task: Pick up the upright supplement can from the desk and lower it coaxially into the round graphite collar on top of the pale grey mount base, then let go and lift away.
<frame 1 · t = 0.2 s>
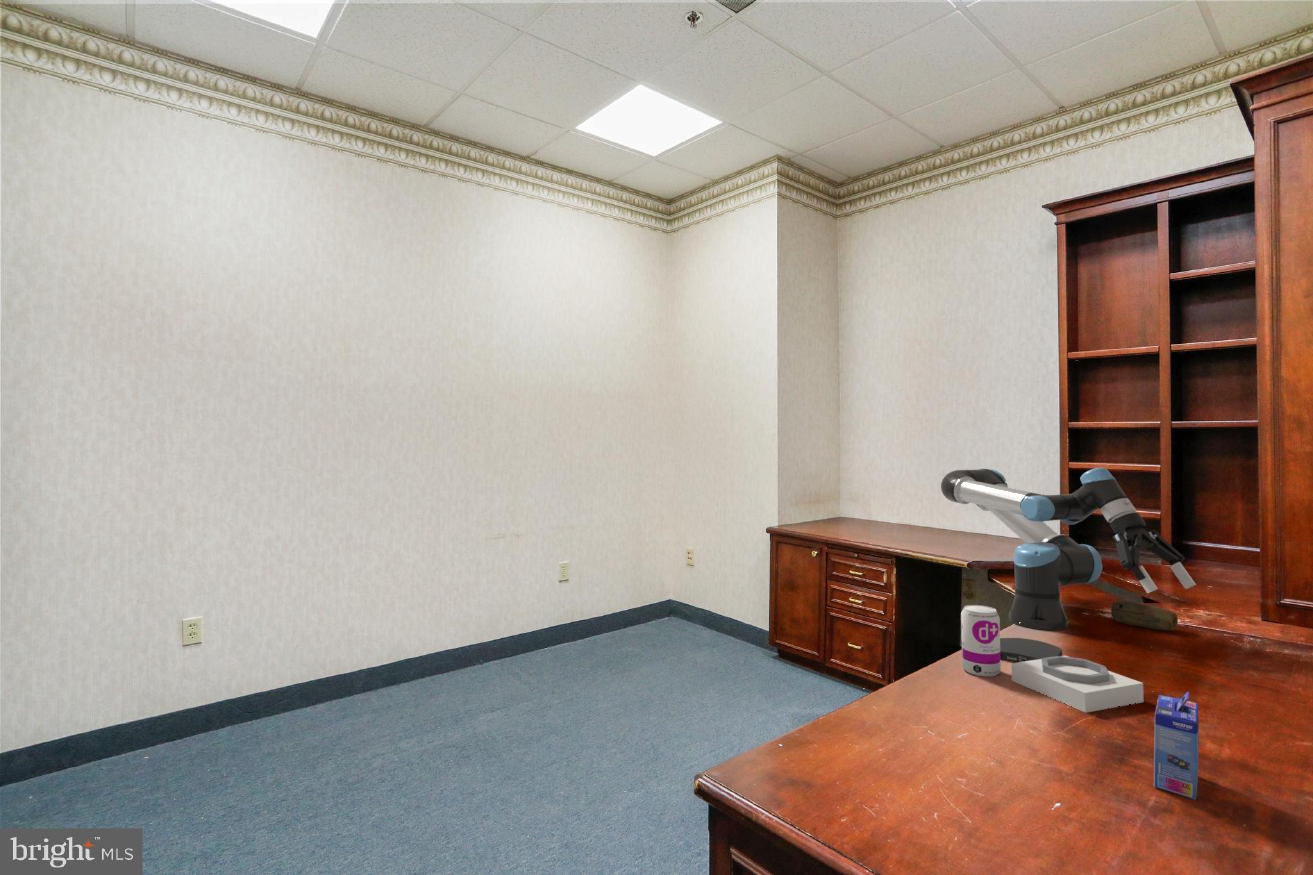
hand: (1171, 589, 165), 15 cm above the table, tool tilted 35°, fingers open, 13 cm apart
stone weight: (1143, 627, 184), on the table
media streaming box: (1026, 657, 161), on the table
ink cartridge box: (1177, 783, 102), on the table
supplement can: (981, 672, 151), on the table
mount base: (1074, 690, 138), on the table
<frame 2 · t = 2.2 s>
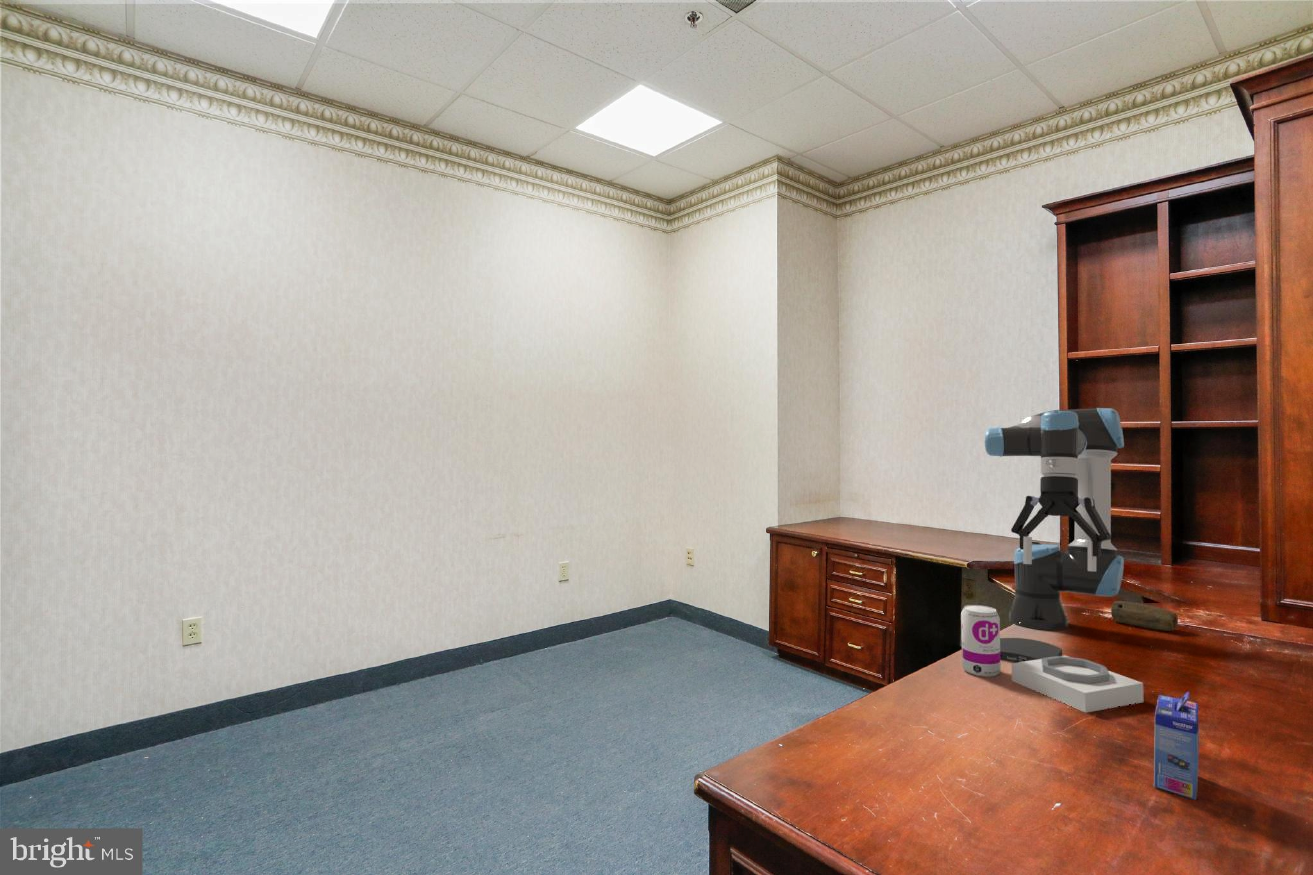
hand: (1058, 567, 146), 25 cm above the table, tool pointing down, fingers open, 13 cm apart
nothing on the table moved.
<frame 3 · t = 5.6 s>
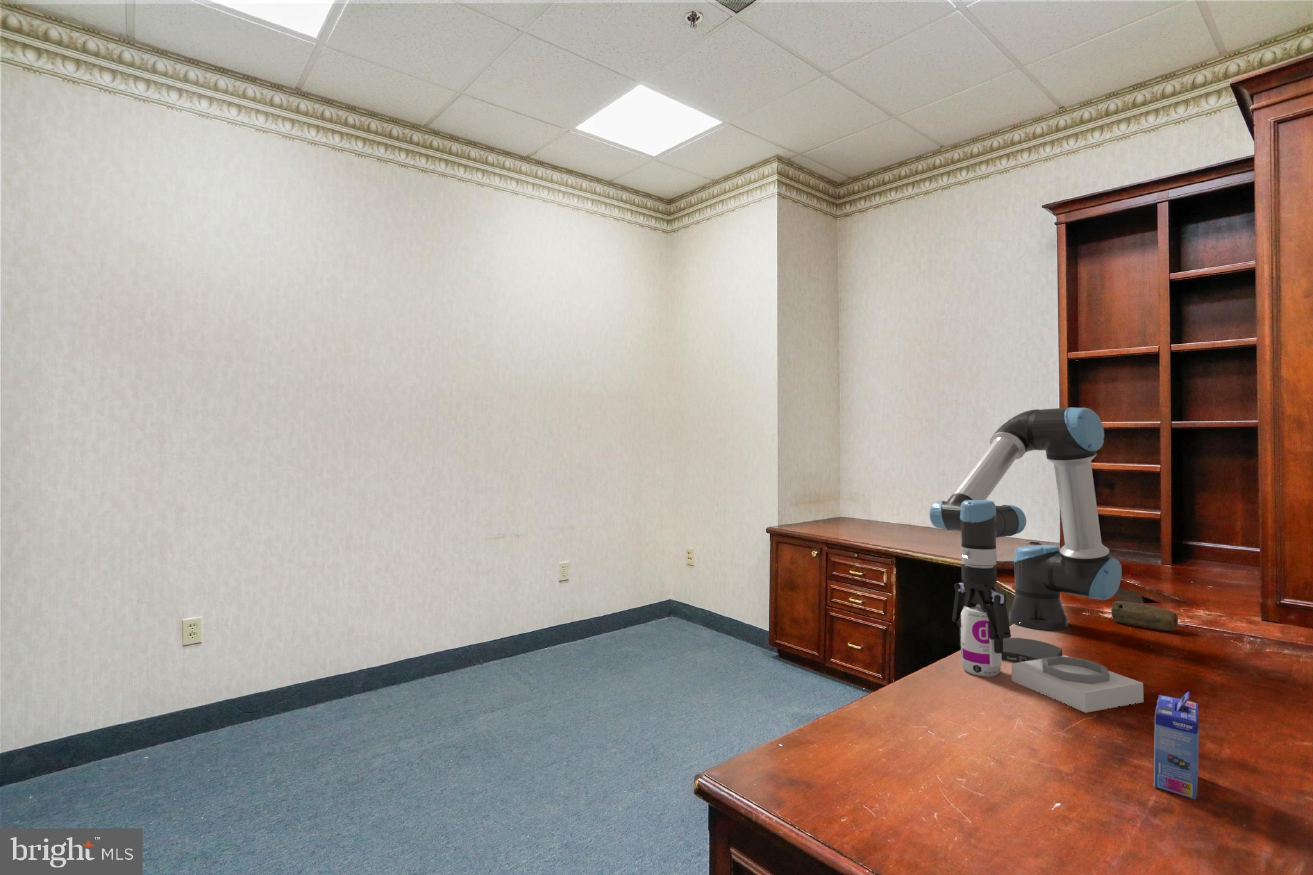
hand: (980, 659, 151), 3 cm above the table, tool pointing down, fingers closed on supplement can, 8 cm apart
supplement can: (981, 672, 151), on the table, touching gripper
everything else where it was.
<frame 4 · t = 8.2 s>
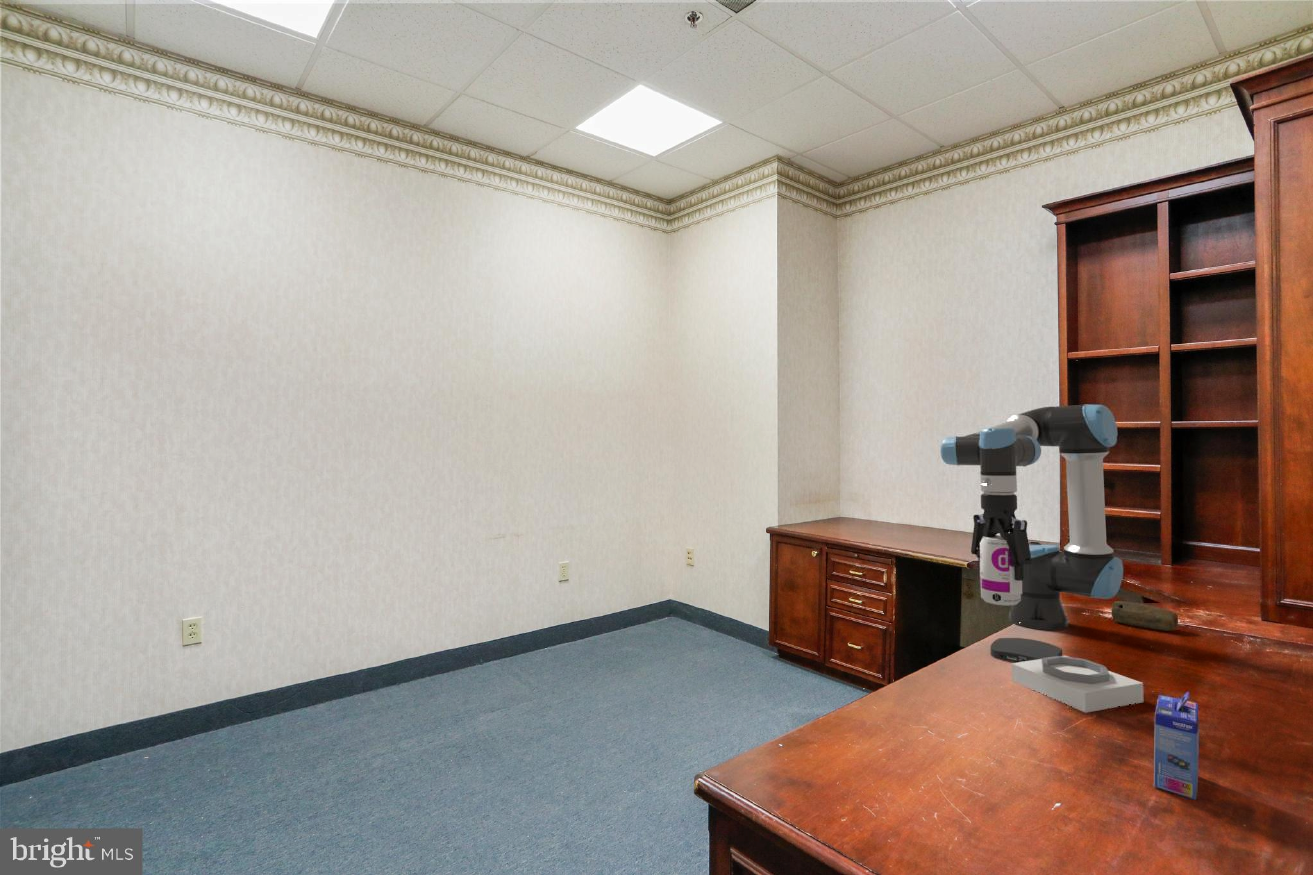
hand: (1000, 589, 148), 20 cm above the table, tool pointing down, fingers closed on supplement can, 8 cm apart
supplement can: (1000, 602, 148), point 17 cm above the table, touching gripper
everything else where it was.
when the fingers open (8 cm above the table, at t = 11.1 s): supplement can stays where it is, resting on mount base.
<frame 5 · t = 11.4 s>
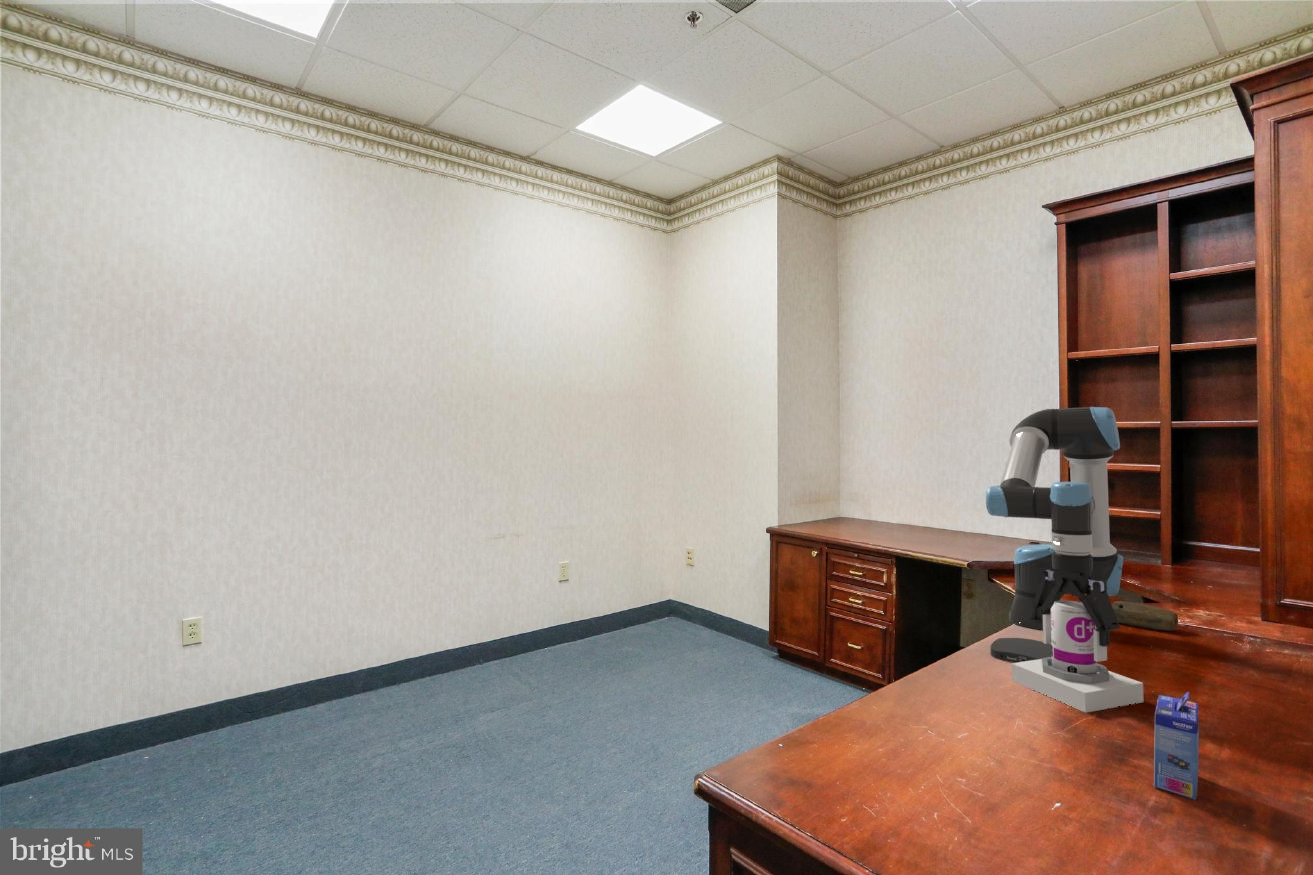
hand: (1073, 651, 138), 9 cm above the table, tool pointing down, fingers open, 11 cm apart
supplement can: (1074, 673, 138), point 4 cm above the table, touching mount base
everything else where it was.
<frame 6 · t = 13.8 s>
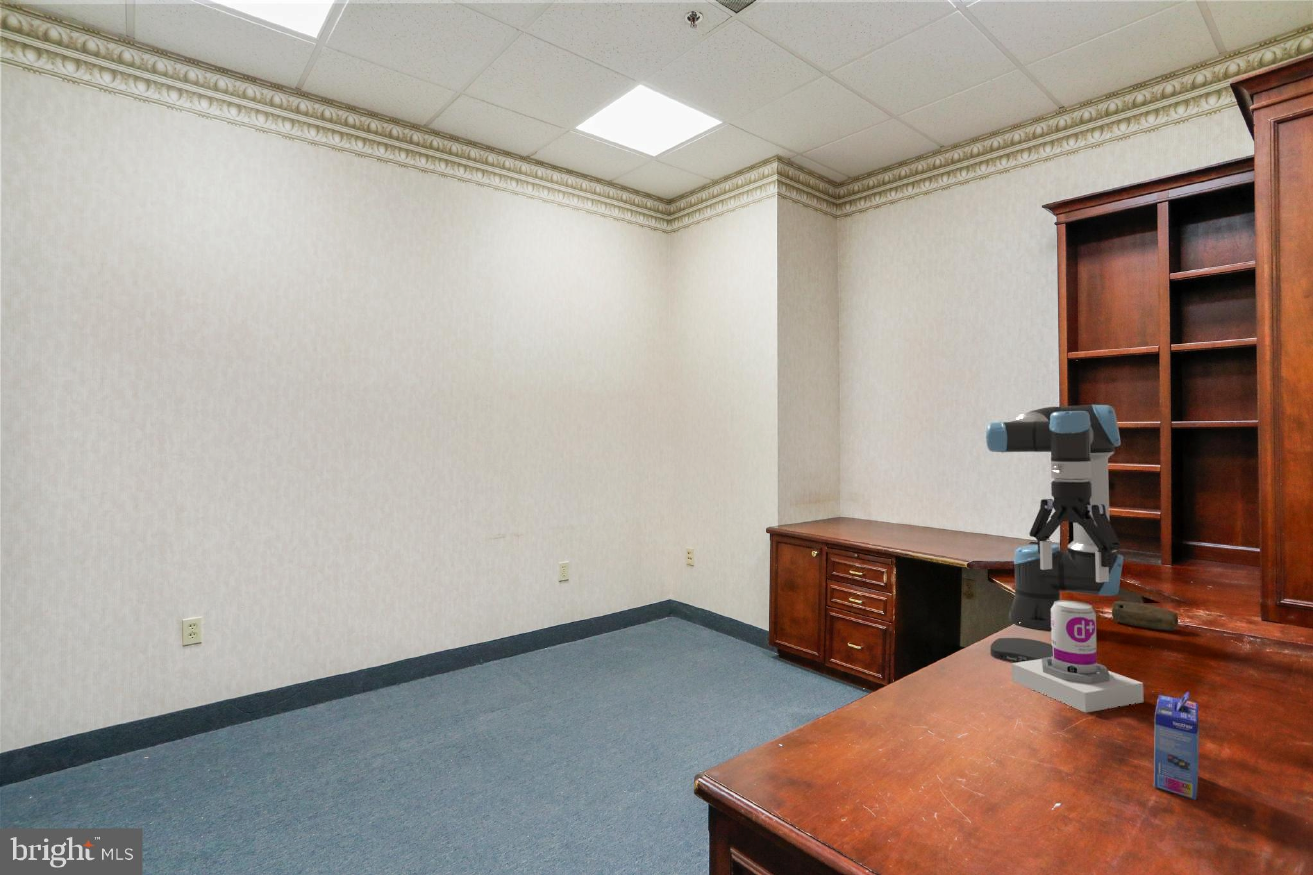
hand: (1073, 575, 141), 25 cm above the table, tool pointing down, fingers open, 13 cm apart
nothing on the table moved.
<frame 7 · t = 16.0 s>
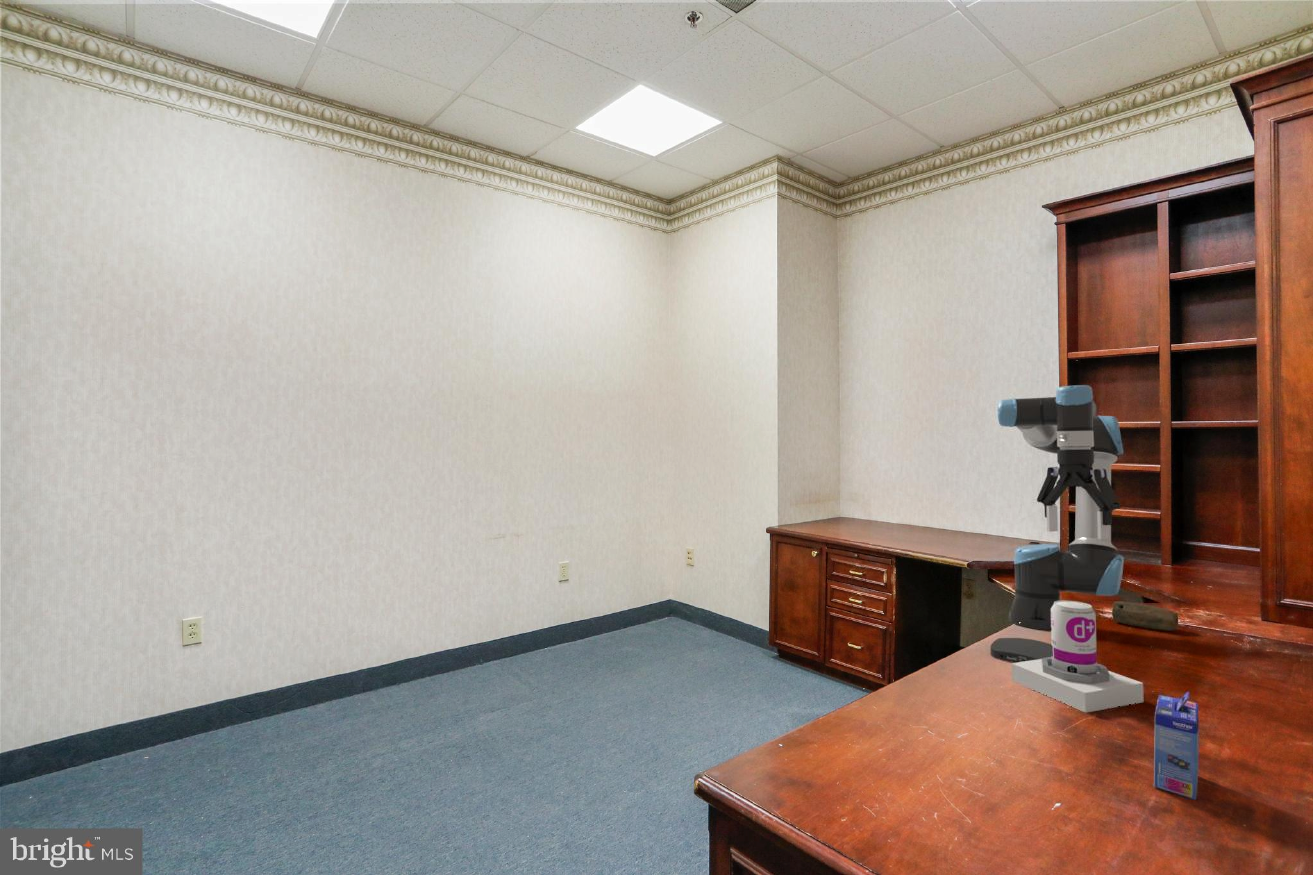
hand: (1077, 535, 155), 32 cm above the table, tool pointing down, fingers open, 13 cm apart
nothing on the table moved.
at the end: supplement can 0.0 cm off-centre on the mount base, point 3.8 cm above the mount base's base; supplement can tilted 0°; the gripper is holding nothing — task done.
